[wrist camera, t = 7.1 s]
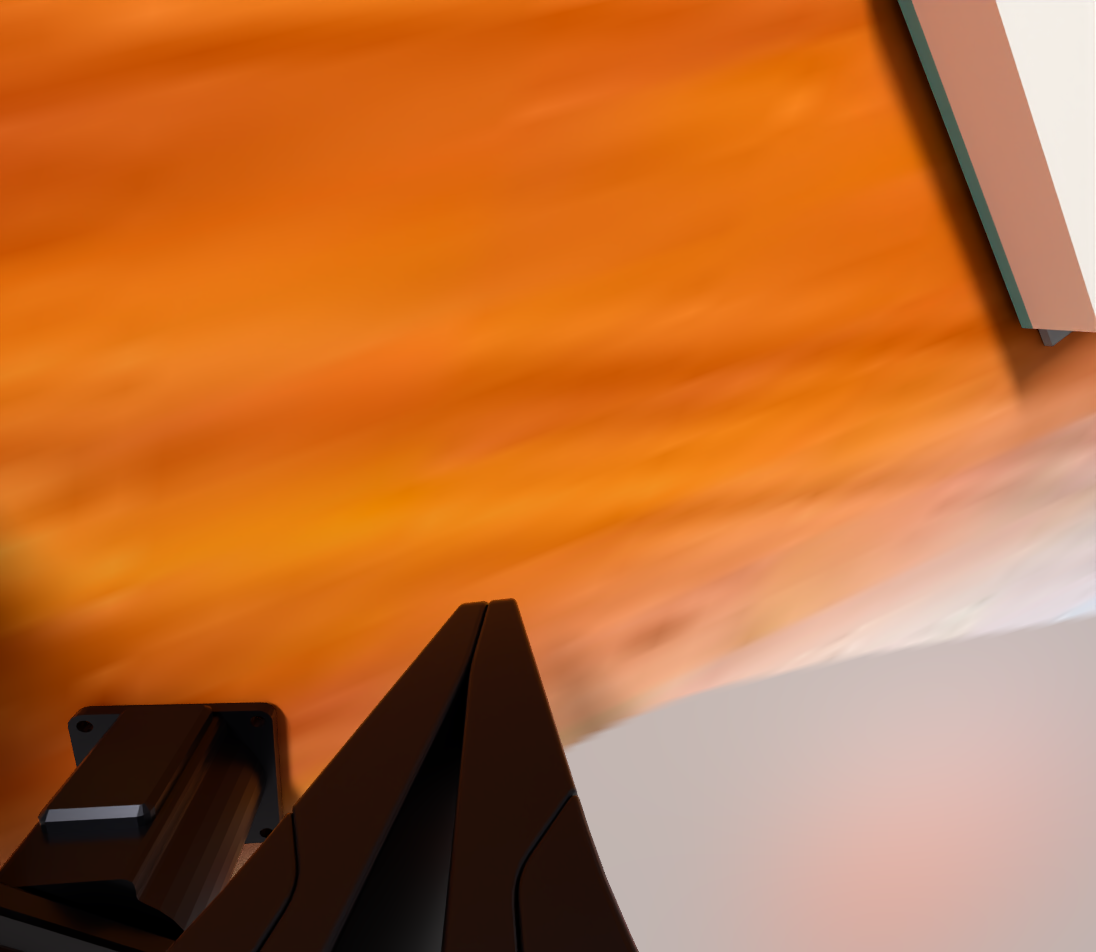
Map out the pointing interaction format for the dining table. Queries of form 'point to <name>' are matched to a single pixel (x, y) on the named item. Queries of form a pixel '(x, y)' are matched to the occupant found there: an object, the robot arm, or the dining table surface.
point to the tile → (1023, 139)
